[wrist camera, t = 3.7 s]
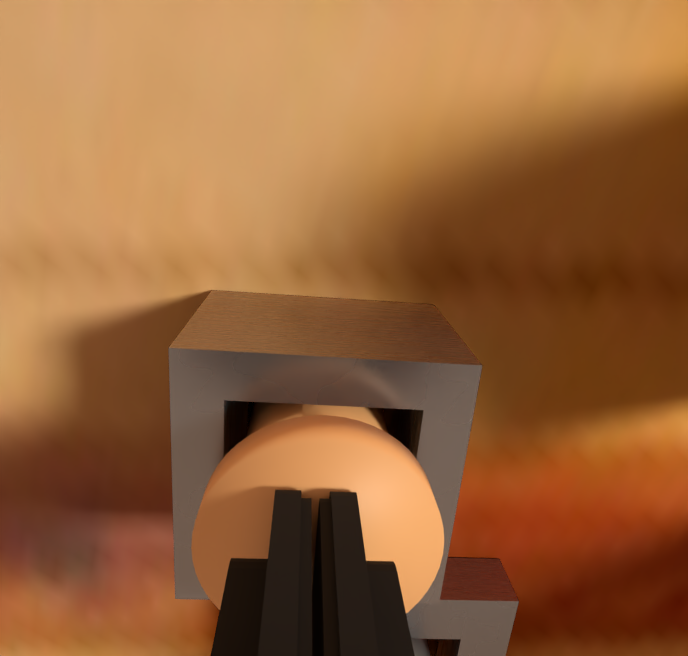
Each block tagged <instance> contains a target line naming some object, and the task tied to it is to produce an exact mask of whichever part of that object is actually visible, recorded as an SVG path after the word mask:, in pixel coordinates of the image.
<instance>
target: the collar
mask: <svg viewBox="0 0 688 656" xmlns="http://www.w3.org/2000/svg"><path fill="white" fill-rule="evenodd" d="M518 603H519V600H518V598H517V596H516V594H515V592H514V590H513V587H512V585H511V583H510V581H509V579H508V577H507V574H506V572H505V570H504V568H503V566H502V563H501V561H500V559H488V558H450V557H447V563H446V568H445V574H444V579H443V585H442V590H441V596H440V601H439V604H424V603H417V604H416V605H415V606H414V607H413V608H412V609H411V610H410V611H409V612H408V613H406V616H407V621H408V626H409V631H410V635H411V639H439V640H438V646H437V651H436V656H506V652H507V648H508V644H509V640H510V636H511V631H512V627H513V623H514V619H515V615H516V611H517V607H518Z"/></svg>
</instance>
